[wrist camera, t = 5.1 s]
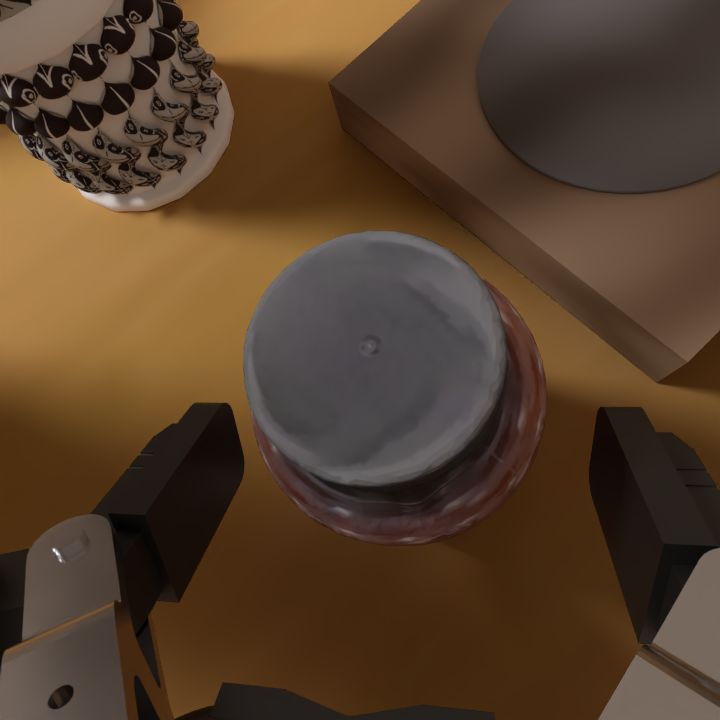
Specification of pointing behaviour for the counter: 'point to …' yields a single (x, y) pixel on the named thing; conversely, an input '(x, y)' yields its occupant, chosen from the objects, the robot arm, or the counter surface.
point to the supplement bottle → (393, 389)
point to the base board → (565, 150)
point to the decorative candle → (113, 97)
